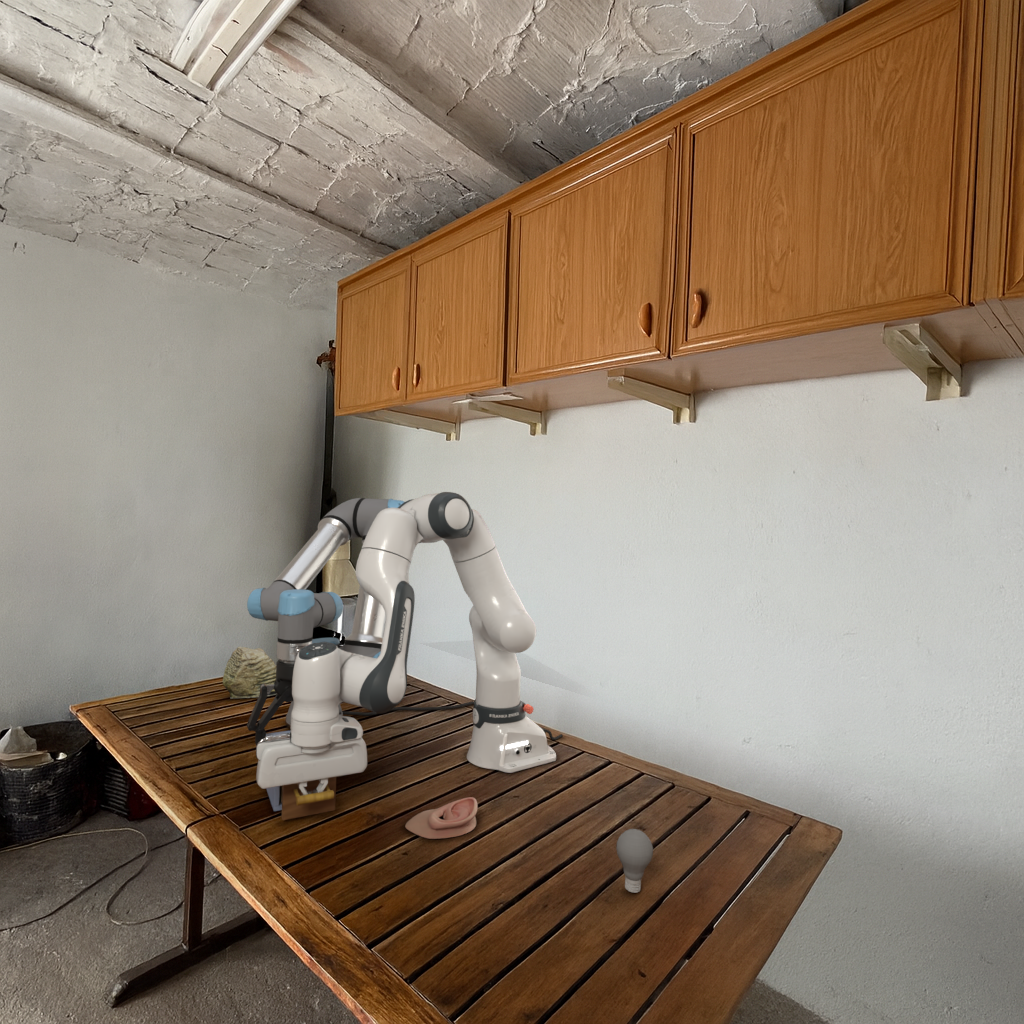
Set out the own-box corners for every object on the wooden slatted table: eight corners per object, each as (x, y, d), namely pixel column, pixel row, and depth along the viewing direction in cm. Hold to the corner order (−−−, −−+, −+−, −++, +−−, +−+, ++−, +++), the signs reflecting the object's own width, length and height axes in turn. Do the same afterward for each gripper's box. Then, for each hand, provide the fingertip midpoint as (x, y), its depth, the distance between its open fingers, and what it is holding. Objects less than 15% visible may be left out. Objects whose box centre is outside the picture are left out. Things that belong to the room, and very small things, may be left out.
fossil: (218, 695, 195) (220, 647, 195) (278, 685, 208) (279, 640, 207) (228, 703, 189) (230, 653, 188) (289, 692, 201) (290, 645, 201)
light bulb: (610, 879, 108) (613, 822, 108) (644, 879, 109) (647, 822, 109) (619, 902, 102) (622, 840, 102) (655, 901, 103) (658, 840, 103)
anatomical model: (399, 813, 120) (420, 787, 131) (398, 834, 120) (419, 806, 131) (467, 823, 117) (482, 796, 128) (466, 845, 117) (481, 815, 128)
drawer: (341, 822, 122) (343, 785, 122) (287, 834, 117) (288, 795, 117) (316, 775, 141) (318, 743, 141) (269, 783, 137) (270, 750, 136)
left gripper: (239, 668, 133) (235, 771, 134) (351, 659, 145) (347, 753, 145) (235, 659, 140) (231, 757, 140) (342, 651, 151) (339, 742, 152)
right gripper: (258, 743, 113) (255, 819, 114) (371, 728, 123) (368, 798, 123) (254, 731, 119) (251, 804, 119) (362, 717, 129) (359, 785, 129)
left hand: (290, 755), depth 143 cm, fingers closed on cabinet, 11 cm apart
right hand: (312, 801), depth 121 cm, fingers closed, pressing on drawer
